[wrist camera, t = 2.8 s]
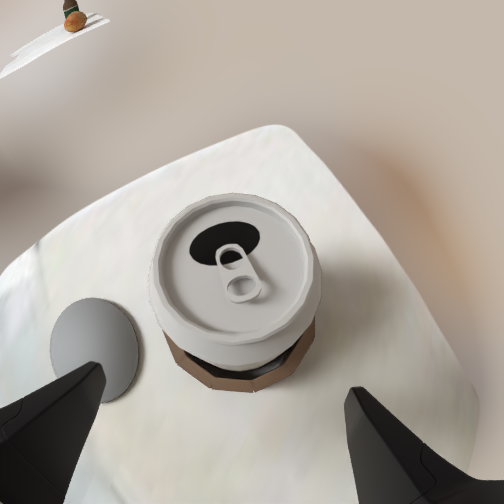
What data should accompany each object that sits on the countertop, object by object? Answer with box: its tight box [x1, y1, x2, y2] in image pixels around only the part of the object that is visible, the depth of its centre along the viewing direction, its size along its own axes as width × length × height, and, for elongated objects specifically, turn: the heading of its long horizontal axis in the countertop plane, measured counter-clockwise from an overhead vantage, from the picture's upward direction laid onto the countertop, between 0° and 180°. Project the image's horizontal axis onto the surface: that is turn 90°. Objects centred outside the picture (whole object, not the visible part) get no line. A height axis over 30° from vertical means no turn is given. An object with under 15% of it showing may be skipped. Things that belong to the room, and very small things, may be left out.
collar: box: [162, 315, 315, 393], centre depth 19 cm, size 10×10×3 cm
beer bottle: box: [63, 0, 79, 18], centre depth 64 cm, size 8×8×24 cm
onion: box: [64, 11, 87, 32], centre depth 61 cm, size 10×10×10 cm
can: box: [148, 193, 322, 372], centre depth 15 cm, size 8×8×12 cm
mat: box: [50, 298, 139, 403], centre depth 19 cm, size 9×9×1 cm
